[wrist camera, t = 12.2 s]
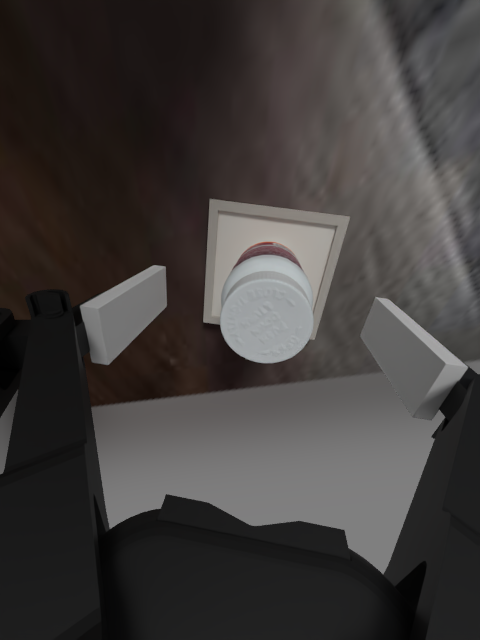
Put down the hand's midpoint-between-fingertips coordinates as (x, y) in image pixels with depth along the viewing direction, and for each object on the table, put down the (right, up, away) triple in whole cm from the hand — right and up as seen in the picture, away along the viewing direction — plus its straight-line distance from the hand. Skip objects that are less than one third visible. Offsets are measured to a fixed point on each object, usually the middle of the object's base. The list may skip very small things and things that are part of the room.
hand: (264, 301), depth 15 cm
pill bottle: (+1, +3, +8) cm, 9 cm away
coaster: (+1, +4, +9) cm, 10 cm away
